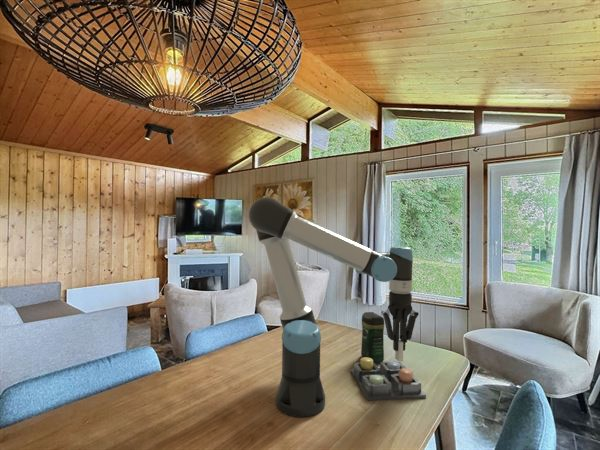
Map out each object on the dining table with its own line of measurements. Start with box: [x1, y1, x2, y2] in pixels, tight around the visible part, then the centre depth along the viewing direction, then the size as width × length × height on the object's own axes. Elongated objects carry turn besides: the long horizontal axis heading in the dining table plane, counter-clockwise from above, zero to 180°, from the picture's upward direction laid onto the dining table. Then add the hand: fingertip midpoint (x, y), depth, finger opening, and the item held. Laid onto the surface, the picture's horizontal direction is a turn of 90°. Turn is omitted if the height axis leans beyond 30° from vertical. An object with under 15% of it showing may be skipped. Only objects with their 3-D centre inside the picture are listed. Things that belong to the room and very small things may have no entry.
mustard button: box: [360, 357, 373, 370], centre depth 114 cm, size 4×4×3 cm
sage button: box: [370, 375, 383, 384], centre depth 104 cm, size 4×4×3 cm
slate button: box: [387, 360, 400, 369], centre depth 116 cm, size 4×4×3 cm
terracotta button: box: [399, 368, 414, 383], centre depth 106 cm, size 4×4×3 cm
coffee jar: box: [360, 311, 385, 364], centre depth 131 cm, size 10×8×19 cm
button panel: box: [350, 360, 427, 401], centre depth 110 cm, size 19×20×4 cm
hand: (398, 359), depth 110 cm, fingers closed
